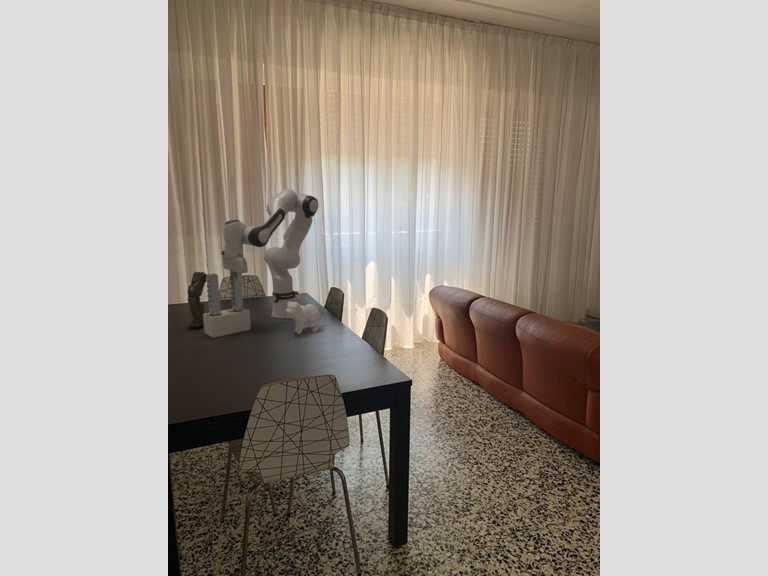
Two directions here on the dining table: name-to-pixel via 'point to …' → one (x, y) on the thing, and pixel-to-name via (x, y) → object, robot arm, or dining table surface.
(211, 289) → the column
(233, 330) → the frame
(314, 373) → the dining table surface
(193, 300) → the mechanical leg
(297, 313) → the white animal figurine
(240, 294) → the column
